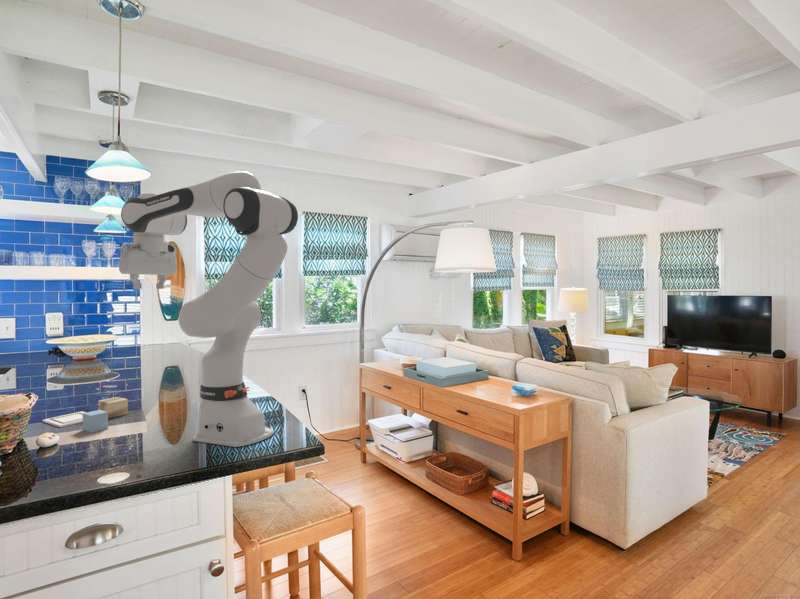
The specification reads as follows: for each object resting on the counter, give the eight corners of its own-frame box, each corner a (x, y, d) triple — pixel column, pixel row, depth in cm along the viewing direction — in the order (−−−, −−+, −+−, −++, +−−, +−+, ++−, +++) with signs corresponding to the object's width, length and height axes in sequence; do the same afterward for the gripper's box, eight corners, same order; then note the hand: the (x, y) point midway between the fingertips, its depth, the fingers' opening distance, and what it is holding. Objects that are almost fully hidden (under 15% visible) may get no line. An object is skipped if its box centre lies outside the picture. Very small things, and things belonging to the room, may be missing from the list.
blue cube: (108, 428, 135) (107, 411, 134) (91, 433, 131) (91, 415, 130) (99, 426, 137) (99, 409, 137) (82, 430, 133) (82, 413, 133)
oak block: (127, 414, 150) (127, 399, 150) (108, 418, 145) (108, 403, 144) (117, 411, 153) (117, 396, 153) (98, 416, 148) (98, 400, 147)
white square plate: (99, 418, 145) (99, 416, 145) (60, 427, 135) (60, 425, 135) (81, 413, 150) (81, 411, 150) (42, 421, 141) (42, 419, 141)
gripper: (130, 243, 136) (130, 289, 136) (179, 248, 156) (179, 288, 156) (113, 243, 137) (113, 289, 138) (164, 248, 157) (164, 288, 158)
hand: (149, 288), depth 147 cm, fingers open, 8 cm apart
